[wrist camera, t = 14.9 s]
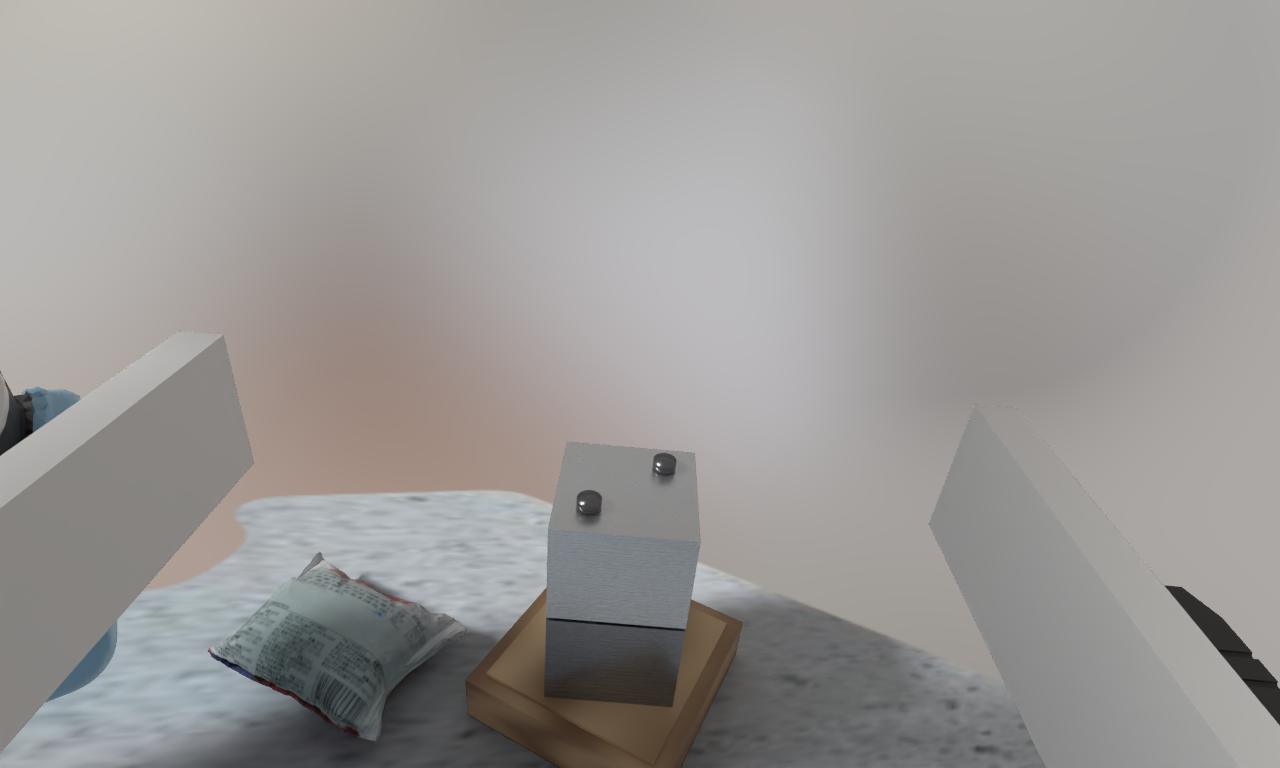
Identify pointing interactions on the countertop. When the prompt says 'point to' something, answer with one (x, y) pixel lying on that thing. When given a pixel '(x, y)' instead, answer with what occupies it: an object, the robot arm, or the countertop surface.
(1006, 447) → the robot arm
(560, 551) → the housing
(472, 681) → the stand
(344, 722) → the packaged food
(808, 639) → the countertop surface
